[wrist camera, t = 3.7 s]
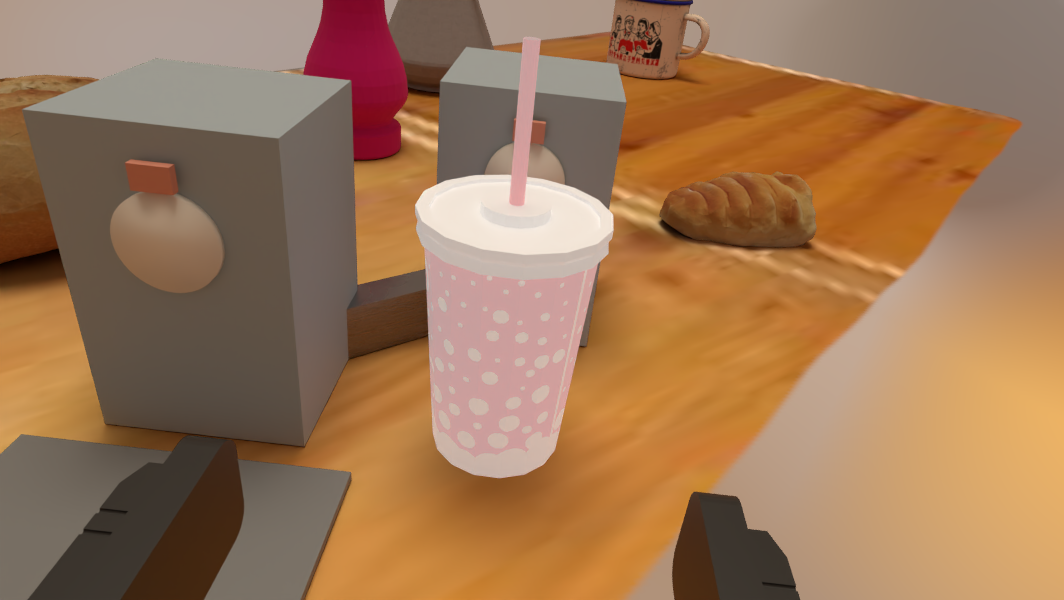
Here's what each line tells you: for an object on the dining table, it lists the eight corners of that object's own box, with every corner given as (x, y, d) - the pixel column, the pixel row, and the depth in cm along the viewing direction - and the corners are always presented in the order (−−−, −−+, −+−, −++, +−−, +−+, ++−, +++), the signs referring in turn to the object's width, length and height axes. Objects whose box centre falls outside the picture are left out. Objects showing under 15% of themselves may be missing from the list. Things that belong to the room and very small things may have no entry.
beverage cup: (489, 365, 30) (518, 13, 23) (609, 434, 27) (684, 51, 20) (376, 432, 25) (369, 24, 19) (503, 524, 22) (552, 75, 15)
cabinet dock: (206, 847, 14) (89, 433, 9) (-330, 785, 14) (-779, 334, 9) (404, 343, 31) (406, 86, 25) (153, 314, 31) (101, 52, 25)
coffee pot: (355, 82, 68) (350, -95, 60) (418, 64, 77) (420, -91, 70) (559, 127, 61) (581, -65, 54) (601, 101, 71) (625, -65, 63)
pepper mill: (310, 164, 48) (287, -191, 38) (303, 131, 54) (283, -184, 44) (415, 162, 50) (420, -172, 40) (398, 131, 56) (399, -168, 46)
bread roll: (263, 230, 39) (248, 84, 35) (-74, 324, 29) (-150, 131, 25) (178, 178, 44) (157, 45, 40) (-133, 242, 34) (-203, 71, 30)
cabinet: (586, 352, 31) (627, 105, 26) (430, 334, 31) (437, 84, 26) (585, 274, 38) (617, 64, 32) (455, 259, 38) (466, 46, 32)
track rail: (252, 386, 27) (246, 334, 26) (239, 365, 28) (232, 314, 27) (524, 306, 34) (529, 262, 33) (506, 292, 35) (509, 249, 34)
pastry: (684, 255, 42) (698, 195, 40) (640, 210, 47) (650, 155, 45) (819, 251, 44) (838, 194, 42) (762, 209, 50) (777, 157, 48)
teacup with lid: (590, 68, 84) (605, -39, 78) (624, 59, 91) (639, -40, 85) (683, 89, 79) (706, -23, 73) (711, 78, 86) (734, -26, 80)
